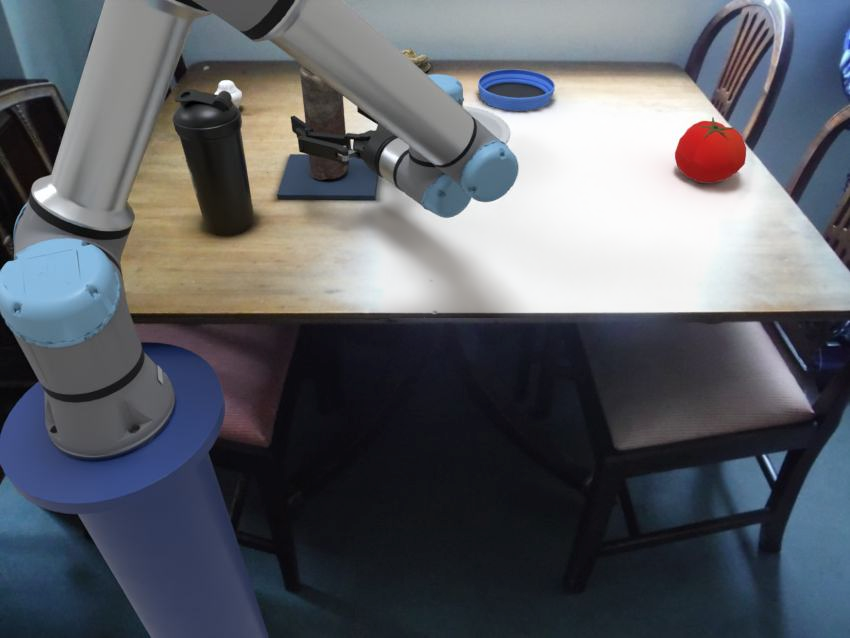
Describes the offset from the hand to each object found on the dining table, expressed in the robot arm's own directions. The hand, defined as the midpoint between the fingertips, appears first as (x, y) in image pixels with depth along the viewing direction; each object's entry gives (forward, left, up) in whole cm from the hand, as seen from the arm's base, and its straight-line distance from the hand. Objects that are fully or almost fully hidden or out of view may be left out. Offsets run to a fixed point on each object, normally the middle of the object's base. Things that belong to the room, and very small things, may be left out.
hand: (326, 113), depth 118 cm
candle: (-1, +1, -13) cm, 13 cm away
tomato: (+73, +3, -14) cm, 74 cm away
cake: (+15, +59, -14) cm, 62 cm away
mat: (0, +1, -14) cm, 14 cm away
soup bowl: (+23, +9, -14) cm, 28 cm away
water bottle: (-16, -15, -14) cm, 26 cm away
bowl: (+40, +41, -14) cm, 59 cm away
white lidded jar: (-26, +32, -14) cm, 44 cm away
